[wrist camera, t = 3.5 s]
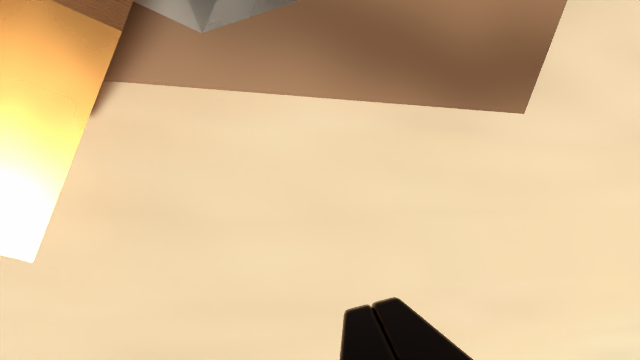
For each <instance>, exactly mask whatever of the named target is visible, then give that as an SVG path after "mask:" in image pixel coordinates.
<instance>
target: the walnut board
mask: <svg viewBox="0 0 640 360" xmlns="http://www.w3.org/2000/svg"><path fill="white" fill-rule="evenodd" d="M566 2H567V0H299V1H296V2H293V3H290V4H287V5H284V6H281V7H278V8H275V9H272V10H269V11H266V12H263V13H260V14H257V15H255V16H252V17H249V18H246V19H243V20H240V21H237V22H234V23H231V24H228V25H225V26H222V27H219V28H216V29H213V30H210V31H207V32H204V33H200V32H198V31H196V30H194V29H192V28H189V27H187V26H185V25H183V24H181V23H179V22H177V21H174V20H172V19H170V18H168V17H166V16H164V15H162V14H159V13H157V12H155V11H153V10H151V9H149V8H147V7H144V6H142V5H140V4H138V3H136V2H134V1H133V3H132V6H131V8H130V11H129V14H128V17H127V19H126V22H125V25H124V28H123V30H122V33H121V36H120V38H119V41H118V43H117V46H116V48H115V51H114V54H113V56H112V59H111V61H110V64H109V67H108V69H107V72H106V74H105V77H104V79H103V81H115V82H128V83H141V84H153V85H166V86H179V87H191V88H204V89H217V90H229V91H242V92H255V93H268V94H280V95H293V96H306V97H318V98H331V99H344V100H356V101H369V102H382V103H394V104H407V105H420V106H432V107H445V108H458V109H470V110H483V111H496V112H508V113H521V114H524V113H525V110H526V107H527V105H528V102H529V99H530V97H531V94H532V92H533V89H534V86H535V84H536V81H537V78H538V76H539V73H540V71H541V68H542V65H543V63H544V60H545V57H546V55H547V52H548V50H549V47H550V44H551V42H552V39H553V36H554V34H555V31H556V29H557V26H558V23H559V21H560V18H561V15H562V13H563V10H564V8H565V5H566Z"/></svg>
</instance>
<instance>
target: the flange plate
mask: <svg viewBox="0 0 640 360" xmlns="http://www.w3.org/2000/svg"><path fill="white" fill-rule="evenodd" d="M133 1H134V2H136V3H138V4H140V5H142V6H144V7H147V8H149V9H151V10H153V11H155V12H157V13H159V14H162V15H164V16H166V17H168V18H170V19H172V20H174V21H177V22H179V23H181V24H183V25H185V26H187V27H189V28H192V29H194V30H196V31H198V32H200V33H204V32H207V31H210V30H213V29H216V28H219V27H222V26H225V25H228V24H231V23H234V22H237V21H240V20H243V19H246V18H249V17H252V16H255V15H257V14H260V13H263V12H266V11H269V10H272V9H275V8H278V7H281V6H284V5H287V4H290V3H293V2H296V1H299V0H0V254H1V255H5V256H9V257H13V258H17V259H21V260H25V261H29V262H33V260H34V258H35V255H36V252H37V250H38V247H39V245H40V242H41V239H42V237H43V234H44V232H45V229H46V227H47V224H48V221H49V219H50V216H51V214H52V211H53V208H54V206H55V203H56V201H57V198H58V196H59V193H60V190H61V188H62V185H63V183H64V180H65V178H66V175H67V172H68V170H69V167H70V165H71V162H72V159H73V157H74V154H75V152H76V149H77V147H78V144H79V141H80V139H81V136H82V134H83V131H84V128H85V126H86V123H87V121H88V118H89V116H90V113H91V110H92V108H93V105H94V103H95V100H96V98H97V95H98V92H99V90H100V87H101V85H102V82H103V79H104V77H105V74H106V72H107V69H108V67H109V64H110V61H111V59H112V56H113V54H114V51H115V48H116V46H117V43H118V41H119V38H120V36H121V33H122V30H123V28H124V25H125V22H126V19H127V17H128V14H129V11H130V8H131V6H132V3H133Z"/></svg>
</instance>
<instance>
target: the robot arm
mask: <svg viewBox="0 0 640 360" xmlns="http://www.w3.org/2000/svg"><path fill="white" fill-rule="evenodd" d="M340 360H473V359H472V358H471V357H469V356H468V355H467V354H466V353H465V352H463V351H462V350H461V349H460V348H458V347H457V346H456V345H455V344H454V343H452V342H451V341H450V340H449V339H447V338H446V337H445V336H444V335H443V334H441V333H440V332H439V331H438V330H437V329H435V328H434V327H433V326H432V325H430V324H429V323H428V322H427V321H426V320H424V319H423V318H422V317H421V316H420V315H418V314H417V313H416V312H415V311H413V310H412V309H411V308H410V307H409V306H407V305H406V304H405V303H404V302H402V301H401V300H400V299H398V298H395V297H394V298H389V299H385V300H382V301H378V302H375V303H373V304H372V307H371V306H370V305H363V306H359V307H355V308H351V309H348V310H346V311H345V313H344V320H343V331H342V341H341V352H340Z"/></svg>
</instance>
